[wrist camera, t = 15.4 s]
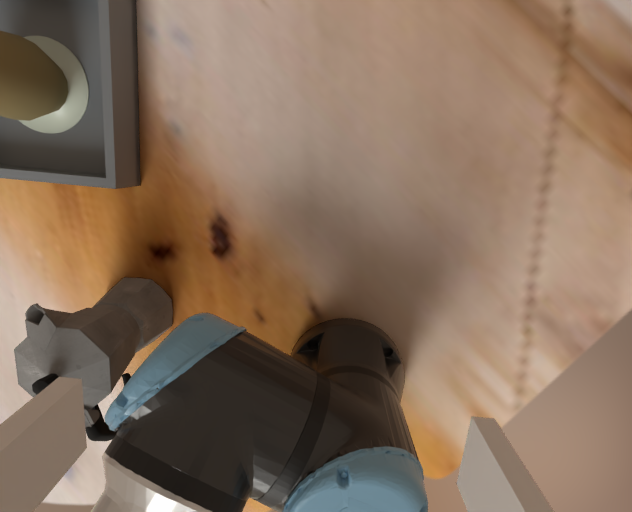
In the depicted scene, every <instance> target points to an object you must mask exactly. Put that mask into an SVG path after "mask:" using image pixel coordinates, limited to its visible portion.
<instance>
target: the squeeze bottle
mask: <svg viewBox="0 0 632 512" xmlns="http://www.w3.org/2000/svg"><path fill="white" fill-rule="evenodd" d="M67 95H68V83H67V79H66V77H65V75H64V73H63V71H62V69H61V68H60V67H59V66H58V65H57V64H56V63H55V62H54V61H53V60H52V59H51V58H50V57H49V56H48V55H47V54H46V53H45V52H44V51H43V50H41V49H40V48H39V47H38V46H37V45H36V44H35V43H33V42H31V41H29V40H27V39H25V38H23V37H21V36H19V35H15V34H11V33H8V32H4V31H0V116H2V117H6V118H10V119H14V120H26V121H30V120H33V119H36V118H39V117H41V116H44V115H47V114H50V113H52V112H55V111H57V110H59V109H60V108H61V107H62V106H63V105H64V104H65V102H66V99H67Z"/></svg>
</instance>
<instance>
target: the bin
mask: <svg viewBox="0 0 632 512" xmlns="http://www.w3.org/2000/svg"><path fill="white" fill-rule="evenodd" d="M0 31H4V32H8V33H11V34H15V35H19V36H21V37H23V38H25V39H27V40H29V41H31V42H33V43H35V44H36V45H37V46H38V47H39V48H40V49H41V50H43V51H44V52H45V53H46V54H47V55H48V56H49V57H50V58H51V59H52V60H53V61H54V62H55V63H56V64H57V65H58V66H59V67H60V68H61V69H62V71H63V73H64V75H65V77H66V79H67V83H68V95H67V99H66V102H65V104H64V105H63V106H62V107H61V108H60V109H59V110H57V111H55V112H52V113H50V114H47V115H44V116H41V117H39V118H36V119H33V120H30V121H26V120H14V119H10V118H6V117H2V116H0V178H7V179H18V180H28V181H39V182H49V183H60V184H71V185H81V186H92V187H102V188H113V189H118V188H125V187H132V186H139V185H140V143H139V101H138V58H137V16H136V0H0Z"/></svg>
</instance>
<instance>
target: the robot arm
mask: <svg viewBox="0 0 632 512" xmlns="http://www.w3.org/2000/svg"><path fill="white" fill-rule="evenodd" d="M246 330H247V329H246V328H244V327H238V326H236V325H234V324H231V323H229V322H227V321H225V320H223V319H221V318H219V317H217V316H215V315H213V314H210V313H199V314H196V315H193V316H191V317H189V318H188V319H186V320H185V321H184V322H182V323H181V324H180V325H179V326H178V327H176V328H175V329H174V330H173V331H172V332H171V333H170V334H169V335H168V336H167V337H166V338H165V339H164V340H163V341H162V342H161V343H160V344H159V345H158V347H157V348H156V349H155V350H154V351H153V352H152V353H151V354H150V355H149V357H148V358H147V359H146V360H145V361H144V362H143V363H142V365H141V366H140V367H139V368H138V369H137V371H136V372H135V373H134V374H133V375H132V377H131V378H130V379H129V381H128V382H127V383H126V385H125V386H124V387H123V391H121V393H120V394H119V395H118V397H117V398H116V399H115V400H114V401H113V403H112V404H111V406H110V407H109V409H108V411H107V413H106V415H105V422H106V424H107V425H108V426H109V429H110V430H112V431H117V430H118V432H117V434H116V435H115V437H114V438H113V440H112V441H111V443H110V445H109V446H108V448H107V449H106V451H105V452H104V454H103V455H102V459H103V466H104V472H105V479H106V484H105V490H104V491H103V493H102V495H101V496H100V498H99V499H98V501H97V503H96V504H95V506H94V507H93V509H92V511H91V512H242V511H243V508H244V506H245V504H246V502H247V500H248V499H249V497H250V498H252V499H254V500H256V501H258V502H260V503H262V504H264V505H266V506H268V507H270V508H272V509H274V510H276V511H278V512H428V501H427V495H426V491H425V487H424V482H423V479H424V477H423V469H422V466H421V464H420V462H419V460H418V457H417V454H416V451H415V447H414V444H413V441H412V438H411V435H410V432H409V429H408V426H407V423H406V420H405V417H404V414H403V411H402V408H401V405H400V402H401V398H402V393H403V388H404V382H405V375H404V367H403V363H402V360H401V357H400V355H399V352H398V350H397V348H396V346H395V344H394V343H393V341H392V340H391V339H390V338H389V336H388V335H387V334H385V333H384V332H383V331H382V330H380V329H379V328H377V327H376V326H374V325H372V324H370V323H367V322H364V321H361V320H356V319H334V320H330V321H326V322H323V323H321V324H319V325H317V326H315V327H313V328H312V329H310V330H309V331H307V332H306V333H305V334H304V335H303V336H302V337H301V338H300V339H299V340H298V342H297V343H296V345H295V347H294V348H293V350H292V353H291V356H289V355H288V354H286V353H284V352H282V351H280V350H279V349H277V348H275V347H273V346H272V345H270V344H268V343H266V342H264V341H263V340H261V339H259V338H257V337H256V336H254V335H252V334H250V333H248V332H247V331H246ZM86 448H87V445H86V431H85V417H84V403H83V388H82V379H77V378H67V377H58V378H57V379H56V380H55V381H53V382H52V383H51V384H50V385H48V386H47V387H46V388H45V389H44V390H42V391H41V392H40V393H39V394H37V395H36V396H35V397H34V398H32V399H31V400H30V401H29V402H28V403H26V404H25V405H24V406H23V407H21V408H20V409H19V410H18V411H16V412H15V413H14V414H13V415H12V416H10V417H9V418H8V419H7V420H5V421H4V422H3V423H2V424H1V425H0V512H34V511H35V509H36V508H37V507H38V506H39V505H40V503H41V502H42V501H43V500H44V499H45V497H46V496H47V495H48V494H49V493H50V491H51V490H52V489H53V488H54V487H55V485H56V484H57V483H58V482H59V481H60V479H61V478H62V477H63V476H64V475H65V473H66V472H67V471H68V470H69V469H70V467H71V466H72V465H73V464H74V463H75V461H76V460H77V459H78V458H79V457H80V455H81V454H82V453H83V452H84V450H85V449H86ZM457 486H458V489H459V491H460V494H461V496H462V498H463V501H464V503H465V506H466V508H467V511H468V512H554V510H553V508H552V507H551V505H550V504H549V502H548V501H547V499H546V498H545V496H544V495H543V493H542V491H541V490H540V488H539V487H538V485H537V484H536V482H535V481H534V479H533V478H532V476H531V474H530V473H529V471H528V470H527V469H526V467H525V465H524V464H523V462H522V461H521V459H520V457H519V456H518V454H517V453H516V451H515V450H514V448H513V447H512V445H511V443H510V442H509V440H508V439H507V437H506V436H505V434H504V433H503V431H502V430H501V428H500V426H499V425H498V423H497V422H496V420H495V419H493V418H482V417H471V421H470V426H469V430H468V435H467V439H466V444H465V448H464V453H463V457H462V462H461V466H460V471H459V475H458V480H457Z"/></svg>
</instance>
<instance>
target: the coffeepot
mask: <svg viewBox="0 0 632 512" xmlns="http://www.w3.org/2000/svg"><path fill="white" fill-rule="evenodd" d="M172 317H173V308H172V299H171V298H170V297H169V296H168V295H167V293H166V292H165V291H164V290H163V289H162V288H161V287H160V286H159V285H157V284H156V283H155V282H154V281H153V280H150V279H143V278H127V277H124V278H123V279H122V280H121V281H119V282H118V283H117V284H116V285H115V286H114V287H113V288H112V289H111V290H110V291H108V292H107V293H106V294H105V295H104V296H103V297H102V298H101V299H100V300H99V301H98V302H97V303H96V304H95V305H94V306H93V307H92V308H86V309H83V310H80V311H77V312H75V313H66V312H60V311H54V310H49V309H45V308H42V307H40V306H39V305H38V304H34V305H32V306H31V307H30V308H29V309H28V310H27V312H26V320H25V322H26V330H27V338H26V339H25V340H24V341H23V342H21V343H20V344H19V345H18V346H17V347H16V348H15V349H14V353H15V361H16V369H17V376H18V384H19V385H20V386H21V387H22V388H23V389H24V390H26V391H27V392H28V393H29V394H30V395H31V396H32V397H35V396H36V395H37V394H39V393H40V392H41V391H42V390H44V389H45V388H46V387H47V386H48V385H50V384H51V383H52V382H53V381H55V380H56V379H57V378H58V377H67V378H77V379H82V388H83V403H84V417H85V429H86V433H87V436H88V438H89V439H90V440H92V441H109V440H112V439H113V438H114V437H115V435H116V434H117V432H118V430H117V431H112V430H110V429H109V426H108V425H107V424H106V422H104V419H103V417H102V414H101V411H100V409H99V407H98V403H99V402H100V401H102V400H103V399H104V398H105V397H106V396H108V395H109V394H110V393H111V392H112V390H113V388H114V387H115V385H116V383H117V382H118V380H119V379H120V377H121V376H122V377H123V382H124V386H125V385H126V383H127V382H128V381H129V379H130V378H131V376H130V374H129V373H126V374H123V372H124V371H125V369H126V368H127V366H128V364H129V363H130V361H131V360H132V358H133V357H134V355H135V353H136V352H137V351H139V350H141V349H142V348H144V347H145V346H147V345H149V344H150V343H152V342H153V341H155V340H156V339H157V338H158V337H159V336H160V335H162V334H163V333H164V332H165V331H166V330H168V329H169V328H170V327H171V326H172ZM122 374H123V375H122Z"/></svg>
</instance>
